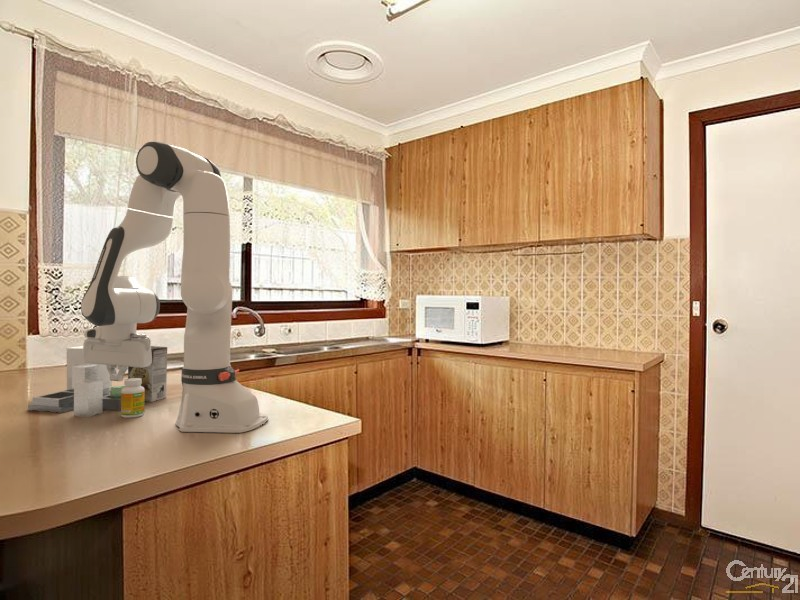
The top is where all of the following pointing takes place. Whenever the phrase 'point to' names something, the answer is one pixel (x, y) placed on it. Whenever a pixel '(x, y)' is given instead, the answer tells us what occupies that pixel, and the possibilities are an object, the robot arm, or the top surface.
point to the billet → (88, 397)
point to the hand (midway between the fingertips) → (116, 380)
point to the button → (116, 391)
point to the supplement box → (77, 359)
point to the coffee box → (153, 375)
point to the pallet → (66, 392)
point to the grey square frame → (111, 403)
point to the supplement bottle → (132, 398)
